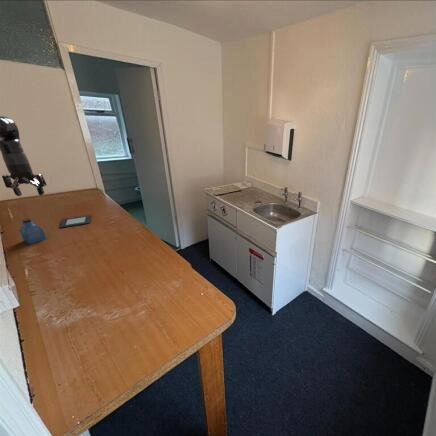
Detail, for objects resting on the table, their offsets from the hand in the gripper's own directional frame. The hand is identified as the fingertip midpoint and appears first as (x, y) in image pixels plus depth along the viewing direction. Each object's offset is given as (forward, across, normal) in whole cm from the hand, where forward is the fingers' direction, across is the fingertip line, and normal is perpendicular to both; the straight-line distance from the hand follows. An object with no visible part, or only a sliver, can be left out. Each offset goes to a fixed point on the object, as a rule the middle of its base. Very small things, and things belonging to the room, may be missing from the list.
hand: (30, 195), depth 115 cm
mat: (+22, +6, +15) cm, 28 cm away
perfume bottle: (+22, -1, -7) cm, 23 cm away
